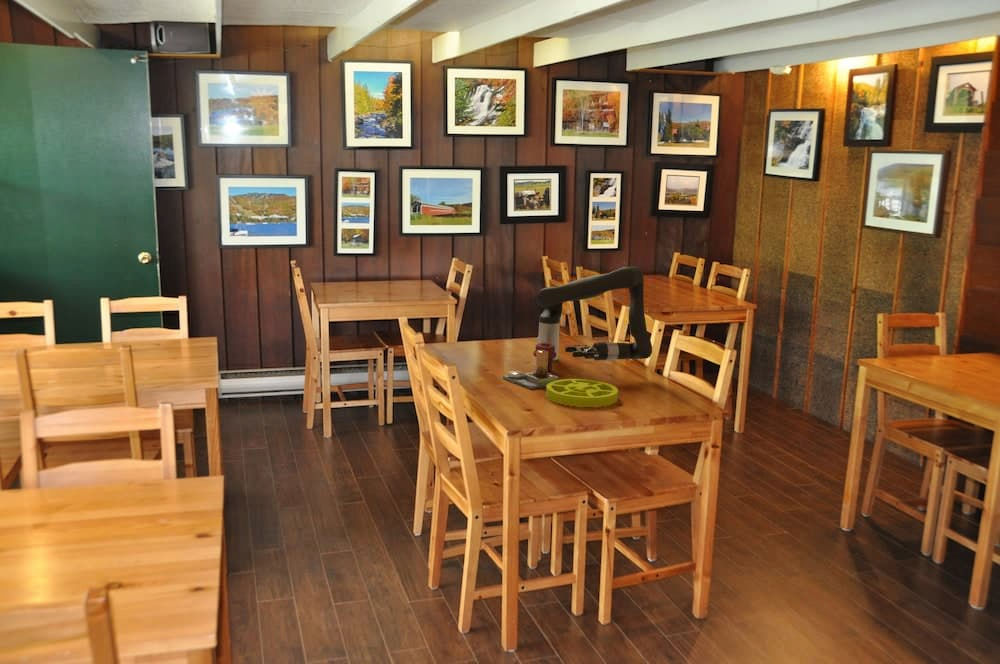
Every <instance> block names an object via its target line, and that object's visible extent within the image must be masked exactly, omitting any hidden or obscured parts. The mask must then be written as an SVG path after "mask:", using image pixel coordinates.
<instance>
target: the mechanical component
mask: <svg viewBox="0 0 1000 664" xmlns="http://www.w3.org/2000/svg"><path fill="white" fill-rule="evenodd" d="M538 350H545V351H548V367H547V372H552V371H553V362H554V361H553V358H555V357H556V352H555V345H553V344H550V343H548V342H541V343H540V344H537V343H536V344H535V350H534V351H533V356H534V357H535V358H536V352H537V351H538Z"/></svg>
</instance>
